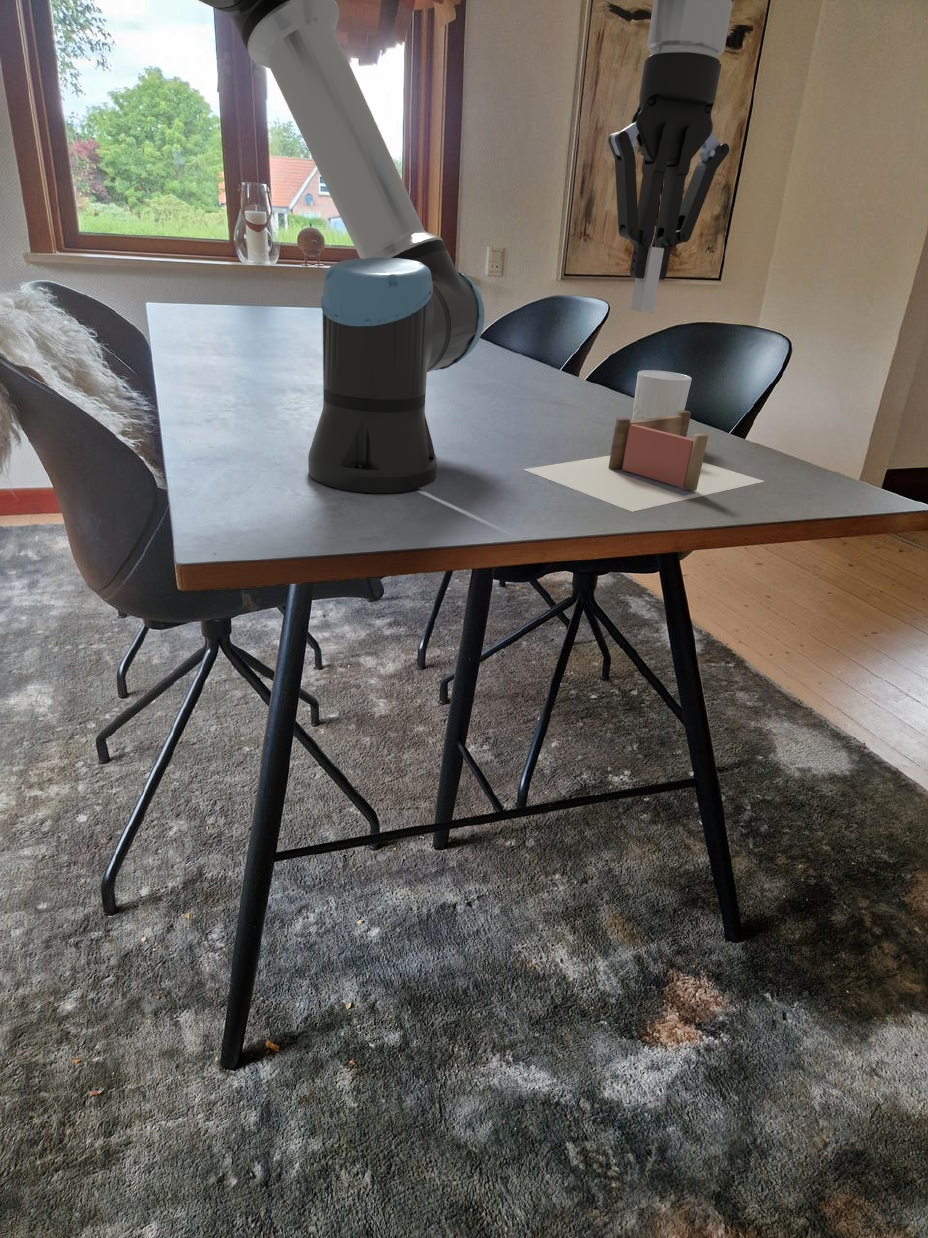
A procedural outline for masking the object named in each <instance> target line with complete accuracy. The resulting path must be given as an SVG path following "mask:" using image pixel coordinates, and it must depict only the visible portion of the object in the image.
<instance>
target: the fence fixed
mask: <svg viewBox="0 0 928 1238" xmlns="http://www.w3.org/2000/svg"><path fill="white" fill-rule="evenodd" d="M691 416H692V412H691V411H689V410H684V411H683V410H679V411H678V413H677V415H674V416H666V417H658V418H650V419H642V420H634V421H632V420H631V419H630V418H629V417H628V418H627V417H616V418H615V425H614V431H613V436H612V444H611V449H610V455H609V456H610V461H609V467H608V468H609V469H613V470H622V468H623V463H624V457H625V451H626V445H627V439H628V433H629V427H630V425H633V424H636V425H639V426H643V427H647V428H651V429H655V430H659V431H663V432H667V433H671V434H675V435H679V436H683V437H688V436H687V435H688V429H689V425H690V421H691Z"/></svg>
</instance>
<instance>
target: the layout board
mask: <svg viewBox="0 0 928 1238" xmlns="http://www.w3.org/2000/svg"><path fill="white" fill-rule="evenodd" d="M609 461H610V455H604V456H598V457H592V458H586V459H581V460H574V461H568V462H567V461H566V462H563V463H562V462H561V463H555V464H549V465H543V466H535V467H530V468H523V469H522V470H523V471H525V472H528V473H530V474H532V475H535V476H538V477H540V478H543V479H545V480H548V481H550V482H553V483H555V484H558V485H561V486H563V487H567V488H569V489H571V490H574V491H577V492H579V493H582V494H585V495H588V496H589V497H591V498H594V499H597V500H599V501H603V502H605V503H608V504H610V505H613V506H615V507H617V508H620V509H623V510H625V511H628V512H631V513H634V512H638V511H643V510H648V509H652V508H657V507H660V506H665V505H669V504H673V503H677V502H681V501H687V500H691V499H695V498H701V497H704V496H709V495H715V494H717V493H722V492H726V491H730V490H735V489H740V488H743V487H744V488H745V487H748V486H752V485H757V484H761V483H765V482H766V481H765V480H762V479H758V478H755V477H753V476H749V475H747V474H743V473H740V472H737V471H733V470H730V469H726V468H723V467H720V466H717V465H714V464H710V463H707V462H704V461H703V463H702V468H701V472H700V477H699V482H698V486H697V490H695V491H691V490H686V489H684V488H682V487H679V486H675V485H672V484H668V483H665V482H662V481H658V480H655V479H652V478H648V477H645V476H642V475H638V474H635V473H632V472H628V471H625V470H613V469H609V468H608V467H609Z"/></svg>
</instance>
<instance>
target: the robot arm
mask: <svg viewBox="0 0 928 1238" xmlns="http://www.w3.org/2000/svg"><path fill="white" fill-rule="evenodd" d="M198 1H199V2H200V3H203V4H205V5H207V6H210V7H212V8H214V9H216V10H218V11H221V12H222V13H223V12H224V13H226V14H227V15H228V16H229V17H230V18H231V20H232V22H233V24H234V26H235V29H236V30H237V32H238V34H239V37H240V39H241V40H242V42H243V45H244V47H245V49H246V51H247V54H248V56H249V58H251V60H252V61H253V62H254V63H256V64H257V65H258V66H259V65H260V66H262V67H264V68H268V69H269V70H270V72H271V73H272V76H273V77H274V79H275V83H276V84H277V86H278V88H279V90H280V92H281V94H282V96H283V99H284V101H285V103H286V104H287V107H288V109H289V111H290V113H291V115H292V117H293V119H294V121H295V124H296V127H297V128H298V131H299V133H300V135H301V137H302V139H303V141H304V143H305V145H306V147H307V149H308V151H309V154H310V155H311V156H310V157H312V160H313V162H314V164H315V166H316V169H317V170H318V172H319V174H320V176H321V179H322V182H323V184H324V185H325V187H326V189H327V191H328V194H329V196H330V197H331V199H332V202H333V204H334V206H335V208H336V210H337V213H338V214H339V217H340V218H341V221H342V223H343V225H344V227H345V229H346V232H347V233H348V236H349V237H350V240H351V242H352V243H353V246H354V249H355V250H356V252H357V254H358V257H359V258H352V259H350V258H349V259H346V260H341V261H338V262H336V263H333V264H332V265H330V266H329V267H328V268H327V269H326V271H325V273H324V276H323V288H322V289H323V290H322V291H323V292H322V296H321V300H320V307H321V308H320V309H321V310H322V315H321V316H322V377H323V378H322V380H323V382H322V383H323V385H322V386H323V387H322V389H323V390H322V391H323V393H322V394H323V396H322V397H323V405H322V411H321V413H320V417H319V420H318V423H317V426H316V429H315V432H314V435H313V439H312V442H311V446H310V448H309V451H308V475H309V476H310V477H311V478H312V479H313V480H315V481H316V482H318V483H320V484H323V485H325V486H328V487H332V488H334V489H340V490H343V491H345V490H346V491H350V492H357V493H358V492H359V493H370V494H371V493H372V494H389V493H391V494H392V493H393V494H394V493H404V492H411V491H416V490H419V489H421V488H422V487H426V486H428V485H430V484H431V483H433V482H435V480H436V478H437V466H438V465H437V464H438V463H437V462H438V461H437V456H436V453H435V448H434V445H433V441H432V437H431V432H430V427H429V424H428V421H427V417H426V396H427V395H426V394H427V392H426V391H427V380H428V379H427V378H428V376H427V375H428V373H429V372H433V371H437V370H445V369H448V368H450V367H451V366H453V365H455V364H457V363H459V362H460V361H462V360H463V359H465V358H466V357H467V356H468V355H470V353H471V352H472V351H473V350H474V349H475V347H476V346H477V345H478V343H479V340H480V338H481V336H482V332H483V330H484V326H485V305H484V301H483V299H482V296H481V293H480V292H479V289H478V288H477V286H476V285H475V283H474V282H473V280H471V278H469V277H468V276H467V275H466V274H464V273H462V272H460V271H458V270H457V269H456V267H455V264H454V262H453V260H452V258H451V255H450V253H449V251H448V249H447V246H446V244H445V241H444V240H443V238H442V237H440V236H437V235H434V234H432V233H429V232H427V231H426V230H425V228H424V226H423V224H422V222H421V220H420V217H419V215H418V212H417V210H416V209H415V206H414V205H413V204H414V203H413V202H412V200H411V198H410V196H409V193H408V191H407V189H406V186H405V184H404V182H403V180H402V177H401V175H400V173H399V171H398V168H397V167H396V164H395V162H394V160H393V158H392V155H391V153H390V151H389V149H388V147H387V144H386V142H385V140H384V138H383V135H382V134H381V131H380V129H379V126H378V125H377V122H376V120H375V118H374V115H373V113H372V111H371V109H370V106H369V105H368V102H367V100H366V98H365V96H364V93H363V91H362V90H361V87H360V85H359V83H358V80H357V78H356V76H355V73H354V71H353V69H352V67H351V65H350V63H349V60H348V58H347V56H346V54H345V51H344V49H343V47H342V45H341V42H340V41H339V38H338V35H337V33H336V28H337V25H338V22H339V18H340V8H339V6H338V3H337V1H336V0H198ZM733 2H734V0H653V3H652V9H651V17H650V23H649V28H648V29H649V30H648V36H647V42H646V44H647V45H646V48H647V50H648V51H649V53H650V54H651V55H649V56H647V58H646V59H645V60H644V61H643V62H644V63H643V70H642V75H641V83H640V89H639V103H638V106H637V109H636V112H635V113H634V114H633V116H632V119H631V123H630V124H629V125H628V126H625V128H623V129H621V130H619V131H617V132H612V133H611V134H609V136H608V138H607V141H608V144H609V145H608V146H609V147H610V150H611V153H612V156H613V159H614V170H615V186H616V187H615V189H616V206H617V207H616V208H617V209H616V210H617V225H618V226H617V227H618V229H617V230H618V235H619V237H621V238H625V239H626V240H628V241H629V243H630V244H631V245H632V247H633V248H632V254H631V255H632V256H631V260H630V261H631V262H630V267H629V277H630V278H633V279H635V281H634V285H633V292H632V298H631V306H630V310H631V311H636V312H639V313H648V314H649V313H651V314H653V313H654V312H655V311H654V310H655V303H656V298H657V292H658V285H659V281H660V280H661V281H664V280H665V279H666V277H667V273H668V268H669V264H670V263H669V262H670V256H671V252H672V249H674V248H676V247H677V245H679V244H683V243H688V242H689V241H690V239H691V238H692V237H691V236H692V234H693V232H694V229H695V227H696V224H697V222H698V219H699V216H700V214H701V212H702V208H703V205H704V203H705V200H706V198H707V195H708V192H709V190H710V189H711V186H712V182H713V181H714V180H713V179H714V177H715V175H716V172H717V170H718V169H719V167H720V165H722V163H723V161H725V159H726V157H727V156H728V154H729V153H730V146H729V144H728V143H726V142H725V143H721V142H720V141H719V140H718V138H717V137H716V136H715V135H714V134H713V129H714V123H713V119H712V110H713V107H714V104H715V101H716V97H717V92H718V86H719V81H720V76H721V70H722V64H721V61H720V59H718V57H720V56H721V55H722V54H723V53H725V49H726V43H727V37H728V31H729V28H730V27H729V26H730V20H731V15H732V9H733ZM637 144H638V146H639V148H640V151H641V154H642V157H643V158H642V165H641V173H642V176H641V185H640V190H639V196H638V187H637V186H638V185H637V164H636V163H637V161H636V153H635V148H636V147H637ZM699 150H700V151H699ZM698 152H699V154H698V156H699V158H700V159H699V160H698V162H697V164H696V166H695V168H694V171H693V173H692V176H691V178H690V181H689V183H688V186H687V189H686V191H685V193H684V190H685V184H686V177H687V176H688V175H689V173H690V169H691V168H690V167H691V161H692V159H693V158H694V157H695V156H696V154H697V153H698ZM683 194H684V197H683ZM658 209H659V210H658ZM657 215H658V216H657ZM656 222H657V223H656ZM655 228H656V229H655ZM653 239H654V240H653ZM653 241H654V242H653ZM652 243H654V245H655V246H650V245H651V244H652Z"/></svg>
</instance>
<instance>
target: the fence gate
mask: <svg viewBox="0 0 928 1238" xmlns="http://www.w3.org/2000/svg"><path fill="white" fill-rule="evenodd" d="M708 439H709V435H707V434H705V433H694V435H693V438H690V437H688V436H686V437H683V436H679V435H675V434H671V433H667V432H663V431H659V430H655V429H651V428H647V427H643V426H639V425H636V424H633V425H630V427H629V433H628V439H627V445H626V451H625V457H624V463H623V468H622V470H625V471H628V472H632V473H635V474H638V475H642V476H645V477H648V478H652V479H655V480H658V481H662V482H665V483H668V484H672V485H675V486H679V487H682V488H684V489H686V490H691V491H695V490H697V486H698V482H699V477H700V472H701V468H702V463H703V462H704V458H705V457H704V456H705V453H706V449H707V443H708Z"/></svg>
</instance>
